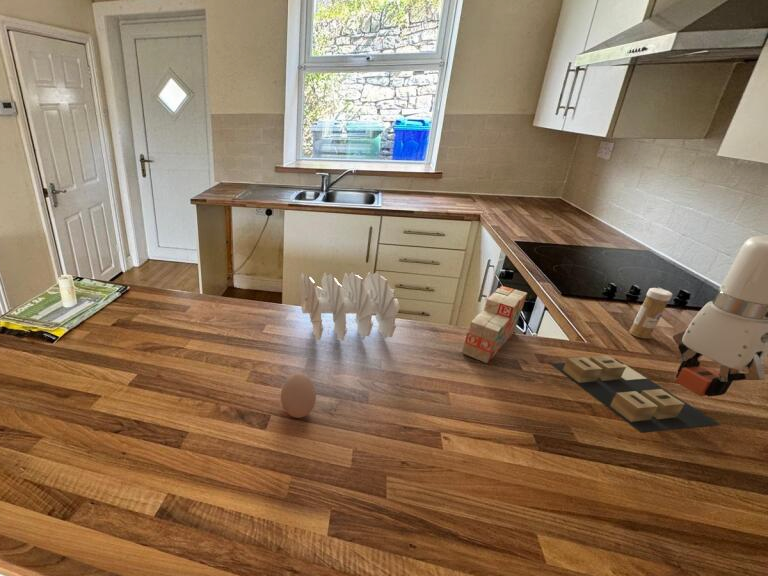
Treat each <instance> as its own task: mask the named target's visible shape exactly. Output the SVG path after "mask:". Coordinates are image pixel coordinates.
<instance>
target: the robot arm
mask: <svg viewBox="0 0 768 576" xmlns="http://www.w3.org/2000/svg"><path fill="white" fill-rule="evenodd" d="M672 339H673V341H674V342H675V344H676V346H677V348H678V350H679V353H680V355H681V356H680V360H681V363H680V365H679V366H678V369H677V373H676V375H675V378H676V379H677V378H678V376H679V374H680V372H681V370H682V368H687V367H697V366H701V361H699V360H700V359H701V358H702V357H703V356H704V357H706V358H708V359H710V360H712V361H714V362H715V363H718V364H719V365H720V367H719V368H720V369H719V373H718V375H719V377H718V378H713V380H712V382H711V384H710V385H709V387H708V389H707V390H706V392H705V395H706V397H718V396H723V395H725V394H727V391H728V390H729V388H730V387H731V385H732V384H733V382H735V381H763V380H766V378H767V377H766V374H765V371H764V367H763V364H764V362H765V360H766V359H767V357H768V235H755V236H751V237H749V238H748V239H746V241H744V243H743V244H742V245H741V247H740V249H739V251H738V253H737V255H736V257H735V259H734V260H733V263H732V264H731V266H730V268H729V270H728V271H727V274H726V275H725V278H724V279H723V281H722V282H721V285H720V287H719V289H718V290H717V293H716V294H715V297H714V298H713V300H711V301H708V302H707V303H706V304H705V305H704V306H703V307H702V308H701V309H700V310H699V311H698V312H697V313H696V315H695V316H694V317H693V319H692V321H690V324H689V325H688V327H687V328H686V329H685V330H684V331H681V332H679V333H676V334H673V335H672ZM744 367H746V368H747V369H748V372H742V369H743V368H744Z"/></svg>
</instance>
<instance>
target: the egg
mask: <svg viewBox="0 0 768 576" xmlns="http://www.w3.org/2000/svg"><path fill="white" fill-rule="evenodd" d="M316 400H317V391H316V387H315V385H314V382H313V381H312V379H311V378H310V376H308V374H305V373H303V372H295V373H292V374H291V375H289V376H288V377H287V379H286V380H285V381H284V384H283V385H282V388H281V392H280V402H281V405H282V408H283V410H284V411H285V412H286V414H288V415H289V416H291V417H293V418H296V419H299V418H300V419H302V418H304V417H306V416H308V415H309V414H310V413H311V412H312V411H313V409H314V406H315V405H316Z"/></svg>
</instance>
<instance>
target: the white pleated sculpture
mask: <svg viewBox="0 0 768 576" xmlns="http://www.w3.org/2000/svg"><path fill="white" fill-rule="evenodd" d="M371 273H372V272H371V271H368V272H367V274H366V277H365V278H363V277H361V276H359V275H358V274H356V270H353V271H352V272H350V273H349V274H348V272H345V273H344V275H343V278H342V281H341V284H340V283H339V281H338V280H337V278H335V274H334V273H331V274H328V273H327V272H324V273H323V275H322V279H321V281H320V284H321V287H320V286H316V282H315V281H314V279H313V278H312V277H311V276H310V272H308V273H305V275H304V273H303V272H300V276H299V278H298V279H299V280H298V288H299V295H300V300H301V301H300V302H301V307H300V308H301V312H302V314H309V318H310V319H309V320H310V323H311V324H312V334H313V335H314V340H315V341H321V339H322V335H323V331H324V327H323V323H322V322H323V319H322V314H332V321H333V323H334V325H333V331H334V332H335V334H336V340H337V341H339V340H340V341H342V342H343V341H344V340H345V337H346V334H347V332H348V328H347V319H346V318H347V314H351V315H352V314H353V315H354V314H355V318H354V320H355V323H356V326H357V331H356V332H357V334H359V335H361V339H362V340H365V339H366V338H367V337H370V335H371V332H372V329H373V326H374V322H373V321H372V318H373V317H372V316H373V315H375V319H376V322H377V324H378V327H377V332H380V333H381V334H382V337H383V339H387V338H392V337H393V334H394V332H395V330H396V328H397V324H396V317H397V314H398V313H399V311H400V302H399V300H398V299H397V298H396V289H393V288H392V287H391V285H390V284H388V282H389V281H388V279H386V278H385V277H384V276H382V275H380V271H376V272H374V273H372V274H371Z"/></svg>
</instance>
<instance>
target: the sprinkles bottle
mask: <svg viewBox="0 0 768 576" xmlns="http://www.w3.org/2000/svg"><path fill="white" fill-rule="evenodd" d="M672 297H673V293H672V292H671V291H669V290H667V289H664V288H659V287H650V288H649V289H648V290H647V292H646V296H645V299H644V301H643V303H642V304H641V306H640V308H639V310H638V313H637V314H636V316H635V318H634V320H633V324H632V325H631V328H630V329H629V330H628V332H629V334H630V335H632V336H633V337H635V338H638V339H644V340H649V339H651V338H652V334H653V332H654V330H655V328H656V327H657V325H658V323H659V321H660V319H661V317H662V315H663V313H664V310H665V308H666V306H667V304H668V303H669V302H670V301H671V299H672Z"/></svg>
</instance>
